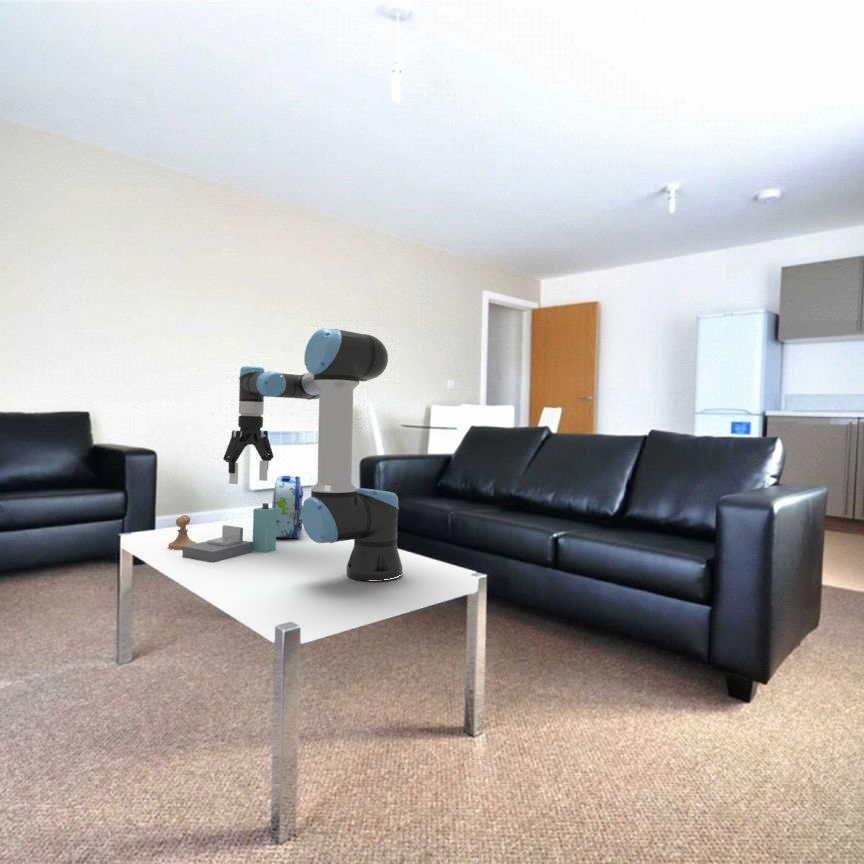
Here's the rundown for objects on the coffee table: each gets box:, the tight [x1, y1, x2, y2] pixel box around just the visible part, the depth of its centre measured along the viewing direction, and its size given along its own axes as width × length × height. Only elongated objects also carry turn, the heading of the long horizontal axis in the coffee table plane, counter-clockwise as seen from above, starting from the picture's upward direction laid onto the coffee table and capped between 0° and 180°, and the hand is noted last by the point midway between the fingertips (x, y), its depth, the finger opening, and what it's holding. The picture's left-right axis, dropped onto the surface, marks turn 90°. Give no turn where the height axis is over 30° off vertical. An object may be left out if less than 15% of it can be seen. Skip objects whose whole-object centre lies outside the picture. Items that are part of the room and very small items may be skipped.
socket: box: [181, 540, 254, 563], centre depth 175 cm, size 12×16×3 cm
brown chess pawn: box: [168, 514, 197, 551], centre depth 182 cm, size 8×10×8 cm
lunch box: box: [271, 475, 304, 540], centre depth 209 cm, size 26×11×21 cm, turn 14°
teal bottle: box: [252, 502, 277, 553], centre depth 183 cm, size 5×5×15 cm
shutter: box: [207, 524, 244, 546], centre depth 177 cm, size 7×7×4 cm
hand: (248, 482), depth 185 cm, fingers open, 13 cm apart
